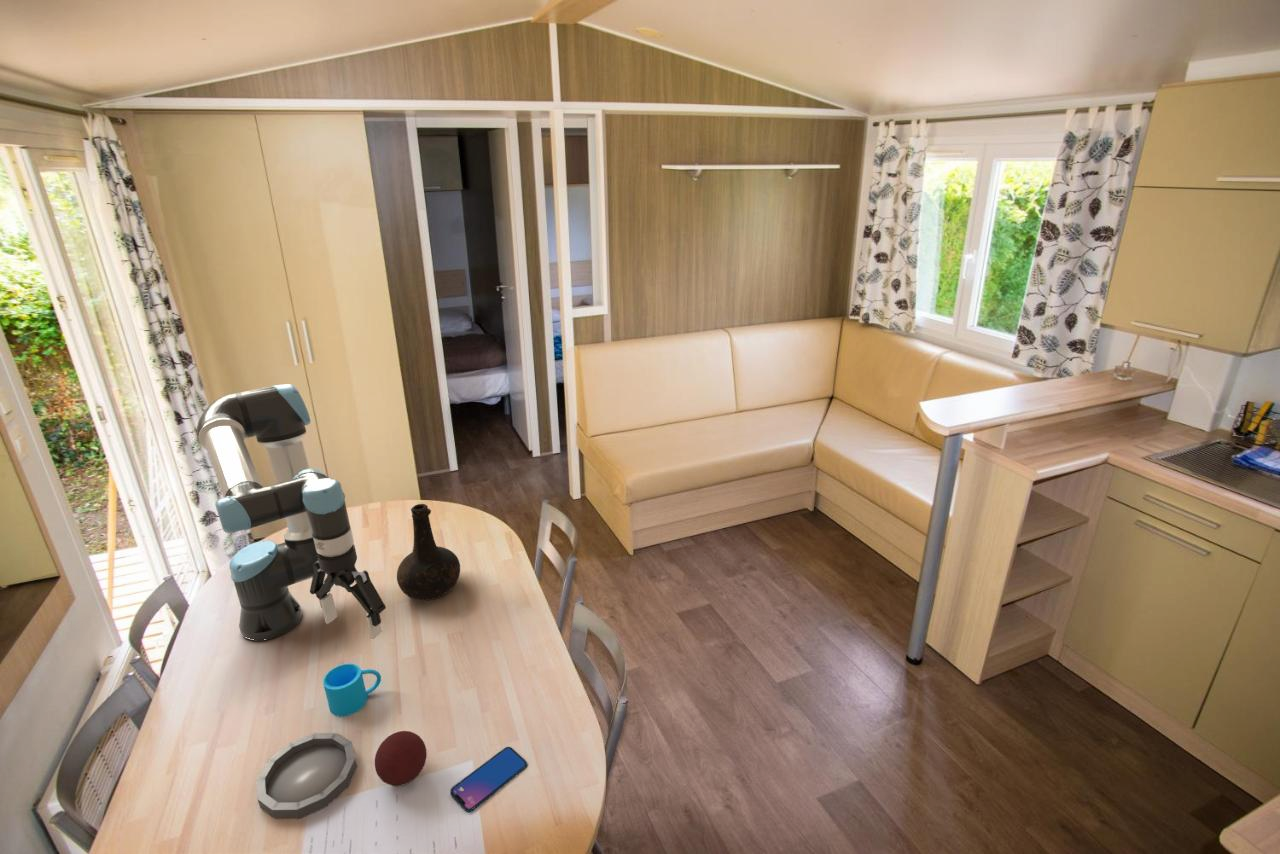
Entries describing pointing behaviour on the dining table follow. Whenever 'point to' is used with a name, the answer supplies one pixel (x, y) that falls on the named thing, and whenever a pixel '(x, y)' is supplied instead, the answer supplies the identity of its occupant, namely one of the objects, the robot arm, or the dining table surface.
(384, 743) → the decorative ball
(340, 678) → the mug
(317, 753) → the holder ring
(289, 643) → the dining table surface
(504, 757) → the smartphone
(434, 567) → the glass bottle
